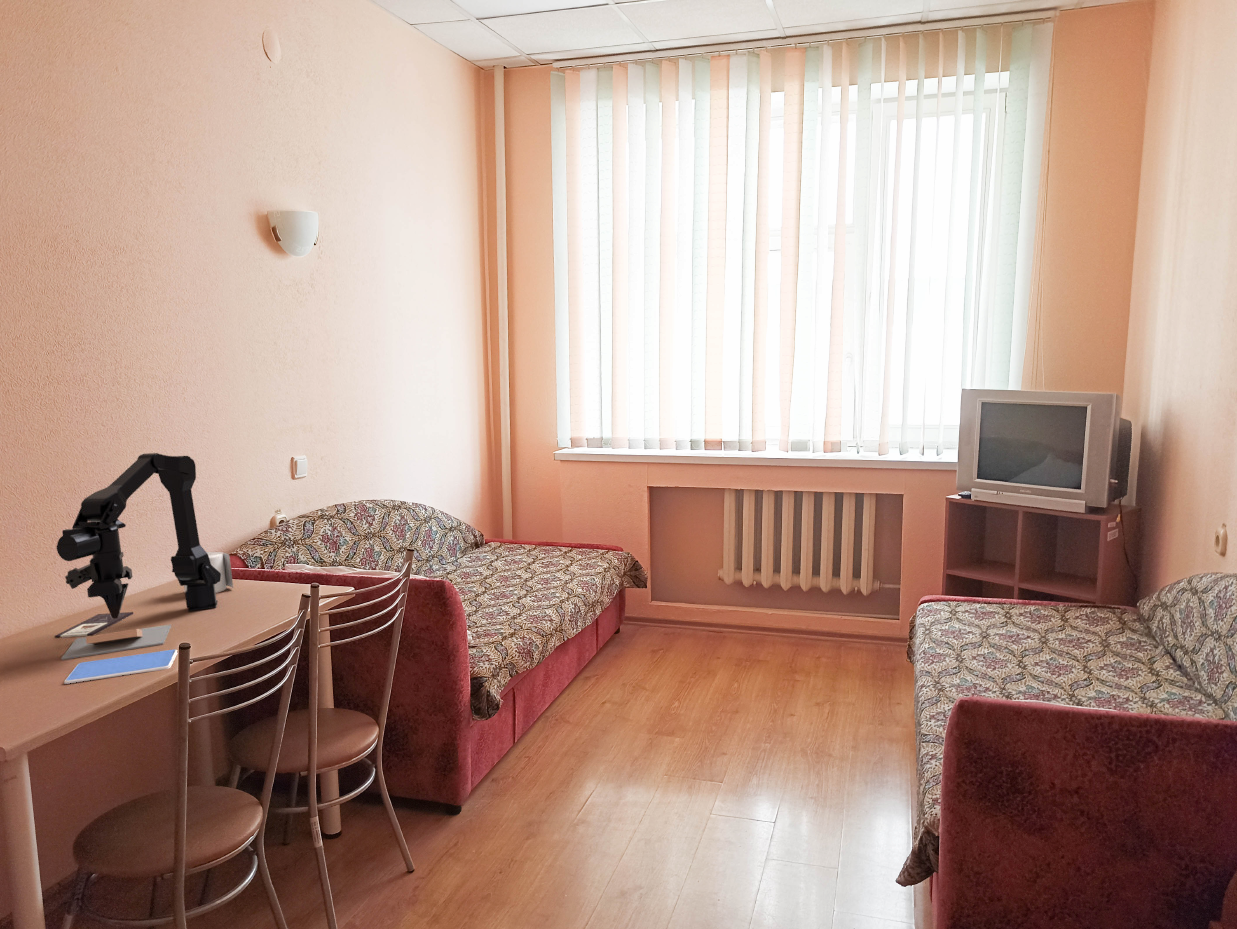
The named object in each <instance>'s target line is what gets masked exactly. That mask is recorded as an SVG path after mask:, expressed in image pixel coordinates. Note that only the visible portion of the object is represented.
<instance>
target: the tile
mask: <svg viewBox="0 0 1237 929" xmlns="http://www.w3.org/2000/svg"><path fill="white" fill-rule="evenodd" d="M141 629H142V628H135V629H130V630H129V629H128V630H122V631H121V630H120V631H116V632H115V631H114V632H107V633H101V634H95V635H93V636H85V637H86V644H97V643H104V642H110V641H117V640H123V639H130V638H137V637H143V636H142V630H141Z"/></svg>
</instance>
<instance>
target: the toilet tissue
mask: <svg viewBox="0 0 1237 929" xmlns="http://www.w3.org/2000/svg"><path fill="white" fill-rule="evenodd" d="M206 552H207V551H206ZM207 554H208V556H209V559H210V563H211V565H212V566H213V567H214V568H215V569H216V570H218V571H219V572H220V573H221V578H220V582H217V584H214V585H215V593H216V594H217V593H220V592H223V591H225V590H227V587H229V588H232V589H234V583H233V582H234V581H233V574H232V567H231V566H232V564H231V558H230V554H228V553H226V552H220V551H211V552H207ZM183 588H184V593H185V592H186V590H187V585H184V587H183Z"/></svg>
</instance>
